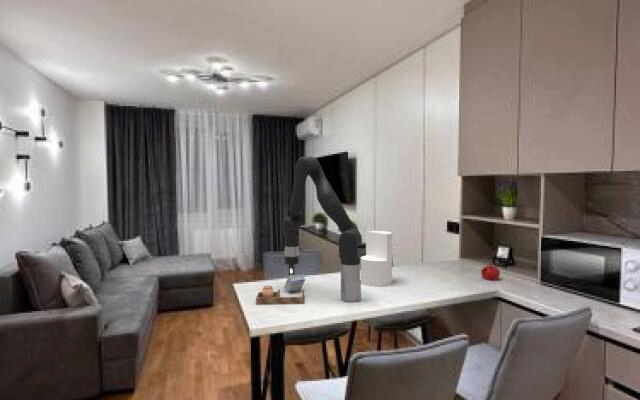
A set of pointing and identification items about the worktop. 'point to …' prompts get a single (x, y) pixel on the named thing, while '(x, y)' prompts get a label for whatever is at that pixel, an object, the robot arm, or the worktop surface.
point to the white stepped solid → (377, 259)
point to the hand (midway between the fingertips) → (291, 287)
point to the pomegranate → (490, 272)
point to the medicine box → (294, 283)
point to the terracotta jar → (267, 291)
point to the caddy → (278, 299)
